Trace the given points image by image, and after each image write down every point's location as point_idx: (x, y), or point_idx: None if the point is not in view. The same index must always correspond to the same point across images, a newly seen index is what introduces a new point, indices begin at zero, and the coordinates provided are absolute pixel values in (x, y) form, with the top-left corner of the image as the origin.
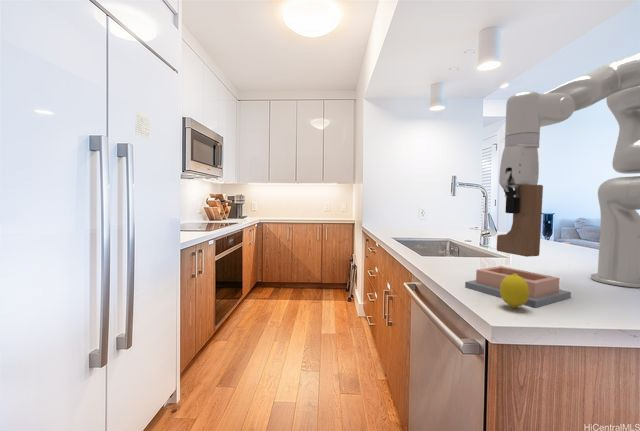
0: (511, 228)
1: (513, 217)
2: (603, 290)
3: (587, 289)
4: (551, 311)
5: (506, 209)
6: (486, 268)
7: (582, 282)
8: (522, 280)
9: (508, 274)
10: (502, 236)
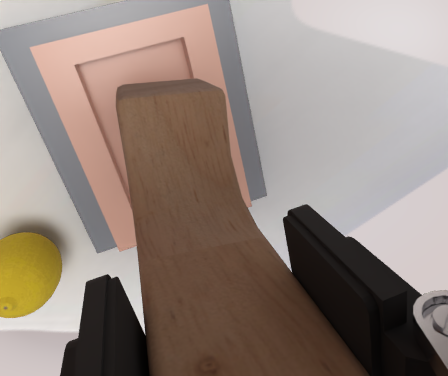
0: (134, 225)
1: (142, 281)
2: (401, 148)
3: (377, 135)
4: (119, 264)
5: (88, 307)
6: (100, 34)
7: (443, 73)
8: (19, 316)
9: (188, 68)
10: (122, 142)
